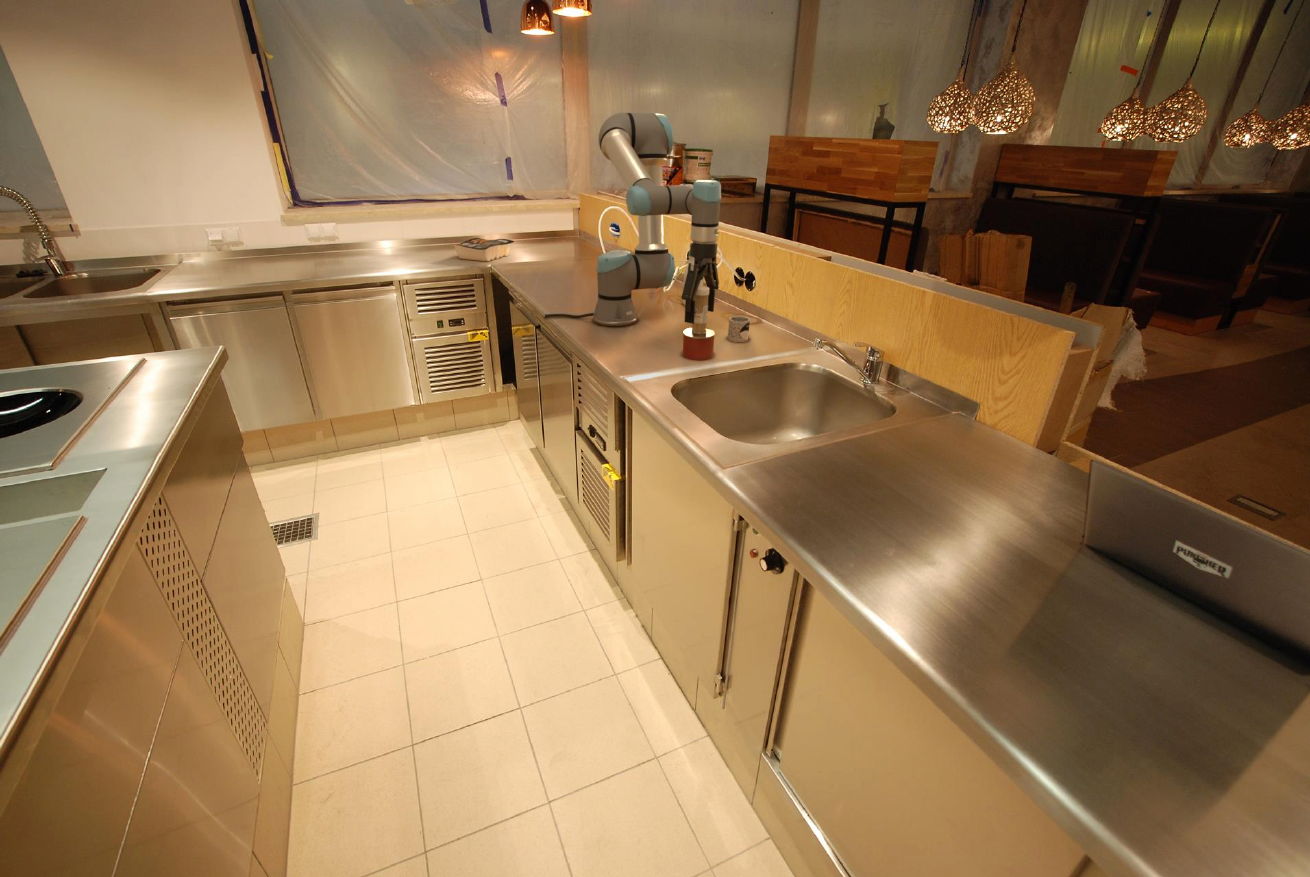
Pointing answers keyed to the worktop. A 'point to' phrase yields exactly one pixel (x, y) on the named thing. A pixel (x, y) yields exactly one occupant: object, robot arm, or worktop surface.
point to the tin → (698, 344)
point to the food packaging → (483, 249)
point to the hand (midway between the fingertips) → (699, 316)
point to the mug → (738, 329)
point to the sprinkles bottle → (701, 310)
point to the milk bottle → (691, 260)
